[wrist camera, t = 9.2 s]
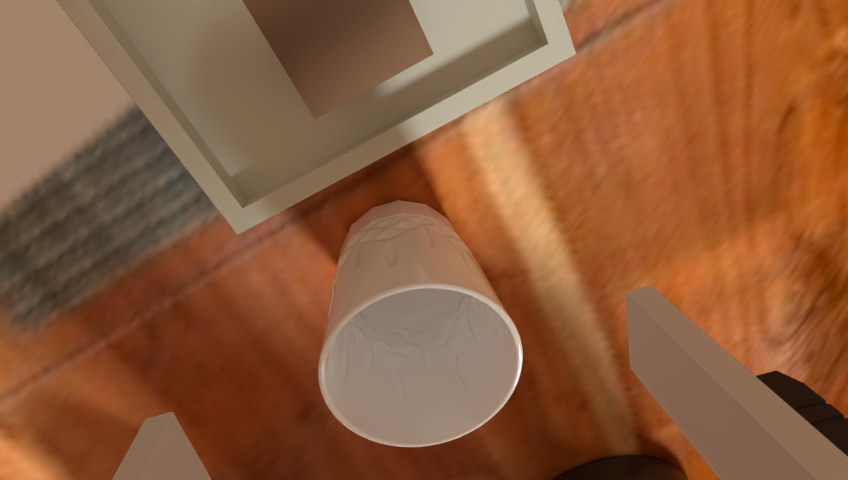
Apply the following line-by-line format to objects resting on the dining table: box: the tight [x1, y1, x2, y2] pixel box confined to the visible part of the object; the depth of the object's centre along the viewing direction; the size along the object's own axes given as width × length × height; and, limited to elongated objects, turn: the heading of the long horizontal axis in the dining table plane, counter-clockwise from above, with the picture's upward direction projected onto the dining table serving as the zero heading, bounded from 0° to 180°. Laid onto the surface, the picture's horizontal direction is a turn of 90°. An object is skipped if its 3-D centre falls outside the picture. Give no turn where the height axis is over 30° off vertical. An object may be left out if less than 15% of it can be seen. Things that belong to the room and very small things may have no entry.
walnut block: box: [242, 0, 434, 119], centre depth 19 cm, size 5×5×5 cm
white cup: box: [318, 200, 523, 447], centre depth 23 cm, size 8×8×10 cm
